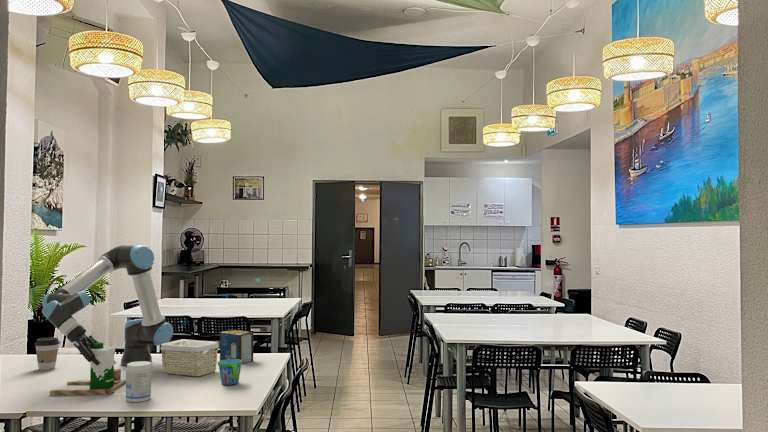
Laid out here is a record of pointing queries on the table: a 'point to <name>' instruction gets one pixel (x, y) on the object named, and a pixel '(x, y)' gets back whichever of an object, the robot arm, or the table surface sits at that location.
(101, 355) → the soya milk
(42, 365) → the coffee cup
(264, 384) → the table surface
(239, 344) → the protein box
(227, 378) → the snack cup
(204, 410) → the table surface
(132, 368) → the supplement tub
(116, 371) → the walnut cube
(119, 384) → the lane
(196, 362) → the storage basket
